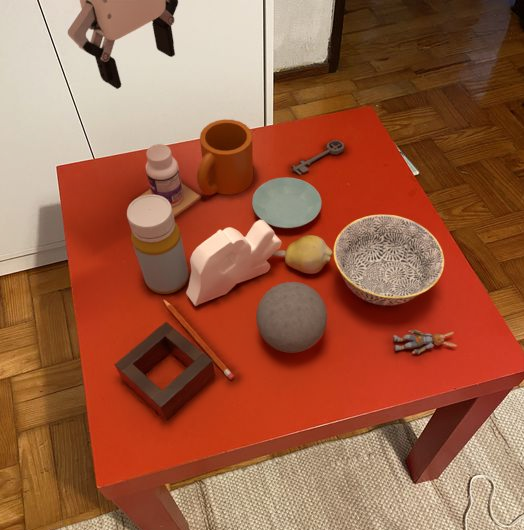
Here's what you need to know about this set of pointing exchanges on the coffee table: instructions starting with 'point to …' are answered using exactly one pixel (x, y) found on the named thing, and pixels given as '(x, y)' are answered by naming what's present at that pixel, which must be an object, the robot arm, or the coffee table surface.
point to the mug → (225, 158)
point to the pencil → (199, 341)
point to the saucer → (286, 202)
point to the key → (329, 150)
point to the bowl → (388, 259)
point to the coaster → (186, 202)
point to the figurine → (421, 341)
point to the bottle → (158, 244)
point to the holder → (151, 354)
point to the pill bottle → (164, 174)
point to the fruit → (307, 254)
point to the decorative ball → (291, 317)
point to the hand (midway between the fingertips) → (140, 68)
